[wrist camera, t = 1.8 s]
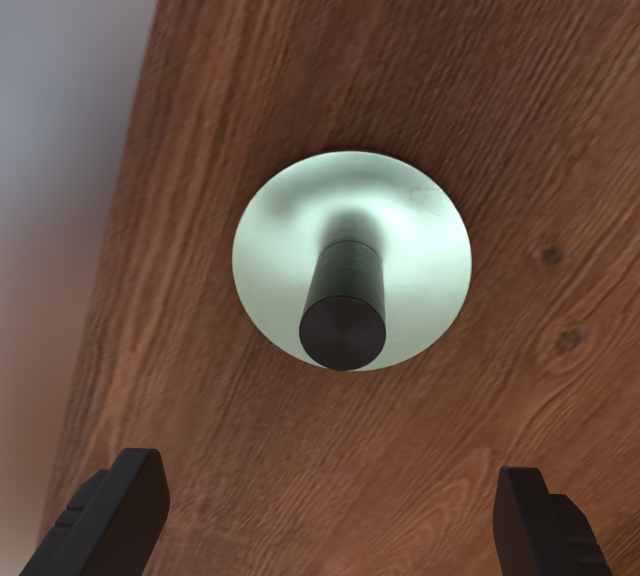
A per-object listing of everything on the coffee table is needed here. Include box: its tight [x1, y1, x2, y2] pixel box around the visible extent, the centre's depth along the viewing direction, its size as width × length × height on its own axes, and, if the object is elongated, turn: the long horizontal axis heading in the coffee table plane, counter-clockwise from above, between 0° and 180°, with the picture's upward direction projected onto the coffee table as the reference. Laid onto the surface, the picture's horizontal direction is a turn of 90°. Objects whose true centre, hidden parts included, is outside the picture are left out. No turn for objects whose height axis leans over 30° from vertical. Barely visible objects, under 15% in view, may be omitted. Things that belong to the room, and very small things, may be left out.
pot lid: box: [232, 148, 472, 371], centre depth 21 cm, size 11×11×7 cm
